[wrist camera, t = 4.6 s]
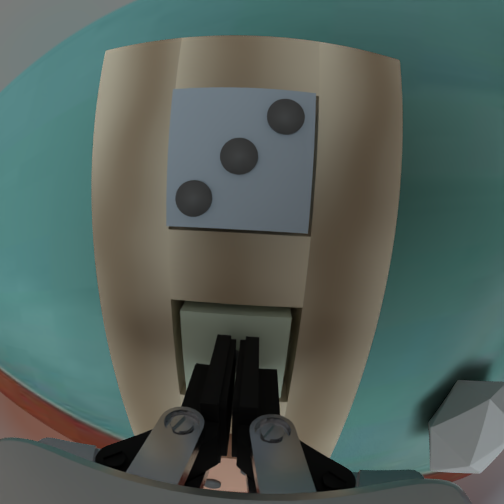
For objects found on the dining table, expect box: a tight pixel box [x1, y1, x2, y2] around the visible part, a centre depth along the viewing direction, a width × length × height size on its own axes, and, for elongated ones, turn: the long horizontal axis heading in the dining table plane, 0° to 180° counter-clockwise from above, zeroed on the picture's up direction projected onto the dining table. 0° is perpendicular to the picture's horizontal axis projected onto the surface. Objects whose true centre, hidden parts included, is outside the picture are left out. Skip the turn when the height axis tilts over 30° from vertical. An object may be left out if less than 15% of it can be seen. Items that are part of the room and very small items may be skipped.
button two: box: [204, 434, 248, 492], centre depth 14 cm, size 4×4×3 cm
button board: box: [92, 35, 403, 458], centre depth 14 cm, size 12×26×4 cm, turn 177°
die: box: [428, 380, 504, 473], centre depth 14 cm, size 8×9×10 cm
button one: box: [180, 301, 292, 398], centre depth 13 cm, size 4×4×3 cm
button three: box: [166, 87, 316, 234], centre depth 9 cm, size 4×4×3 cm
